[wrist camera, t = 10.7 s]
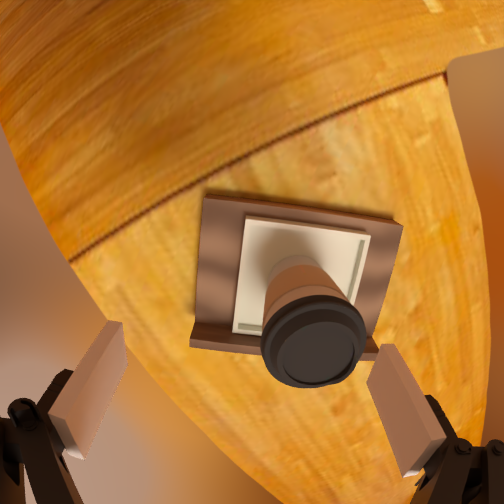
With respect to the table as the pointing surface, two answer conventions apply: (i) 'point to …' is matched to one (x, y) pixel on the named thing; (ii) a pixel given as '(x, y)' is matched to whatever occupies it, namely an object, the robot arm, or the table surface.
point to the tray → (289, 244)
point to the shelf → (229, 256)
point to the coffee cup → (309, 326)
